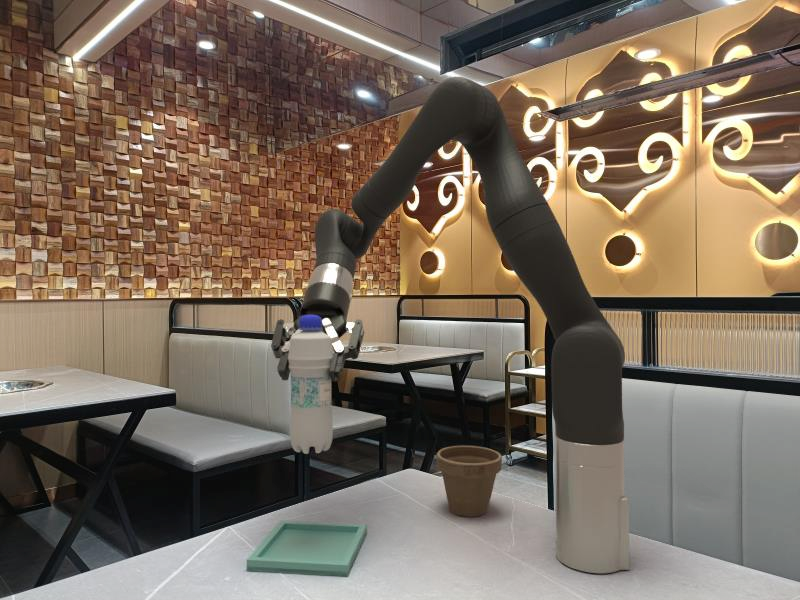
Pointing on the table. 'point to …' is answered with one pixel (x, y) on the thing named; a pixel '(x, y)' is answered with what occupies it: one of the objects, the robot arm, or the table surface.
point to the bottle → (310, 386)
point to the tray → (309, 548)
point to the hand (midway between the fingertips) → (308, 377)
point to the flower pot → (468, 477)
